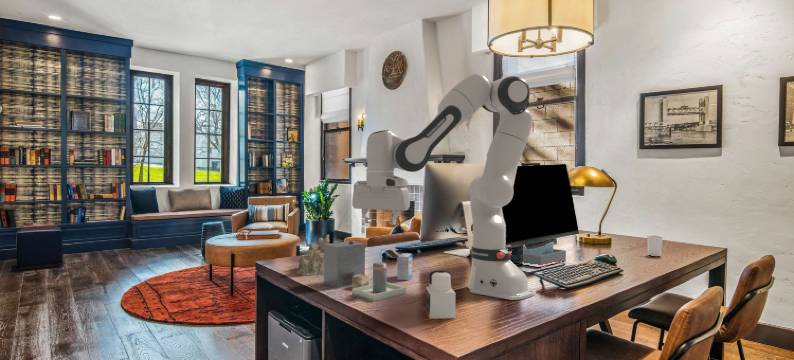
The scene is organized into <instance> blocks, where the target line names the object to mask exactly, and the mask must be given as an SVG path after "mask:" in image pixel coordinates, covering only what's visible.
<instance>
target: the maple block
mask: <svg viewBox="0 0 794 360" xmlns="http://www.w3.org/2000/svg"><path fill="white" fill-rule="evenodd" d="M368 285H370V275H367V274H365V275H362V274H359V275H355V276H353V285H351V286H352V287H351V288H352V289H354V288H358V287H363V286H368Z"/></svg>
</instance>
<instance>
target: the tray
mask: <svg viewBox="0 0 794 360" xmlns="http://www.w3.org/2000/svg"><path fill="white" fill-rule="evenodd" d="M351 292H352V296H354V297H357V298H360V299H363V300H366V301H369V302H372V303H373V302H377V301H381V300H386V299H390V298H394V297H397V296H401V295H405V294H407V287H405V286H402V285H398V284H395V283H391V282H388V281H387V283H386V292H382V293H374V292H373V283H372V284H369V285H368V286H363V287H358V288H352V289H351Z"/></svg>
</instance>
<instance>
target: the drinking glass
mask: <svg viewBox="0 0 794 360" xmlns="http://www.w3.org/2000/svg"><path fill="white" fill-rule="evenodd" d="M663 237H664V236H663V235H658V234H647V235H646V240H647V241H646V243H647V256H648V255H653V256H660V255H661V256H662V250H663Z"/></svg>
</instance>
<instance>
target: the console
mask: <svg viewBox="0 0 794 360" xmlns="http://www.w3.org/2000/svg"><path fill="white" fill-rule="evenodd" d="M359 274H362V275H366V243H363V242H358V241H353V240H349V241H341V242H333V243H330V244H324V274H323V285H326V286H329V287H331V288H336V289H341V288H344V287H345V288H347V287H351V286H353V276H355V275H359Z"/></svg>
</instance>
